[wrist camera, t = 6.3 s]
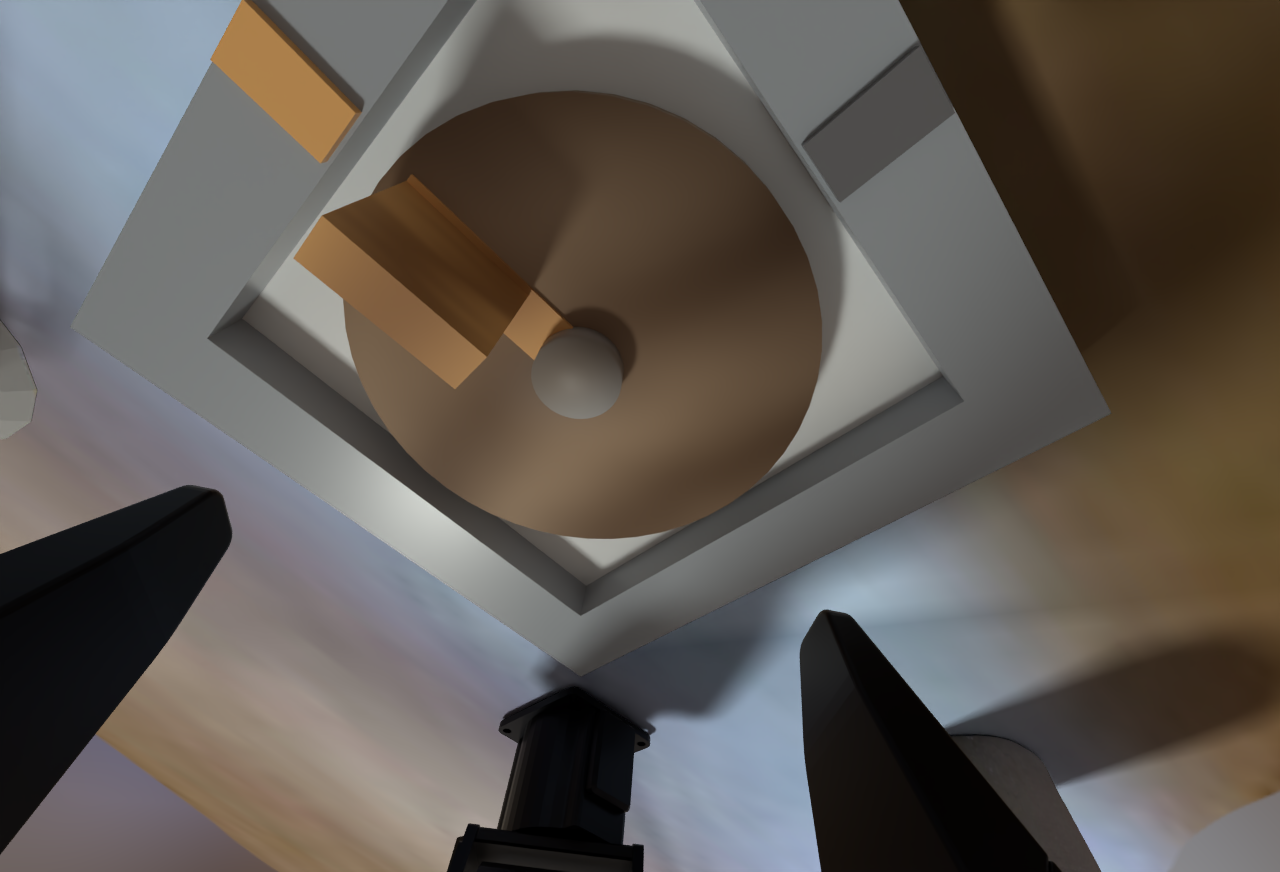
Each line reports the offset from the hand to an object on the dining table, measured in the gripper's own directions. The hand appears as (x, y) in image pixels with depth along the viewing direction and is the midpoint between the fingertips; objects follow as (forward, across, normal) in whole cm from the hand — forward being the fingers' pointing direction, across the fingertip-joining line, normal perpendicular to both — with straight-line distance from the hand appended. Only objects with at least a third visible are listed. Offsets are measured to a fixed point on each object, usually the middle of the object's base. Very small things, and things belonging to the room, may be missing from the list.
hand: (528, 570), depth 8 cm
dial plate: (+12, 0, +1) cm, 12 cm away
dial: (+10, 0, +1) cm, 10 cm away
